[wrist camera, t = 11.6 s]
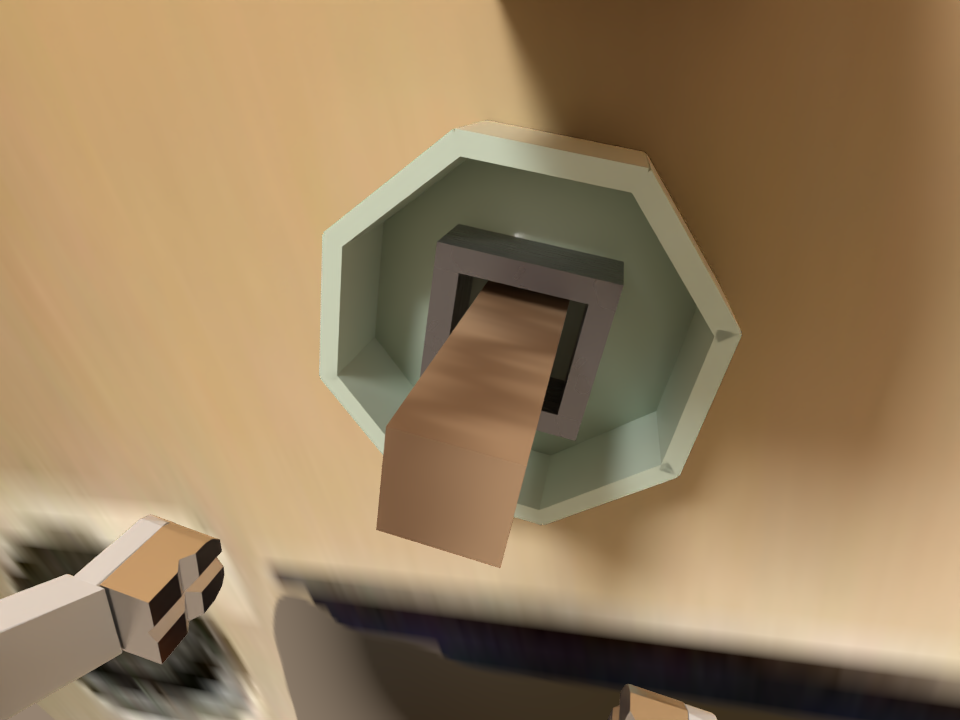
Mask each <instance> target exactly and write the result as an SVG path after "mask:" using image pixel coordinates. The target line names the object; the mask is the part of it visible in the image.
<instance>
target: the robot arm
mask: <svg viewBox="0 0 960 720" xmlns="http://www.w3.org/2000/svg"><path fill="white" fill-rule="evenodd" d="M221 552H222V549H221V543H220V540H219V539H217V538H214V537H211V536H208V535H206V534H203V533H200V532H197V531H195V530H192V529H189V528H186V527H184V526H181V525H178V524H176V523H174V522H171V521H168V520H165V519H163V518H160V517H157V516H154V515H151V514H150V515H148V516H146V517H143V518H141V519H139V520H138V521H137V522H136V523H135V524H134V525H132V526H131V527H130V528H129V529H128V530H127V531H125V532H124V533H123V534H122V535H121V536H120V537H119V538H117V539H116V540H115V541H114V542H113V543H112V544H110V545H109V546H108V547H107V548H106V549H105V550H104V551H102V552H101V553H100V554H99V555H98V556H97V557H96V558H94V559H93V560H92V561H91V562H90V563H89V564H87V565H86V566H85V567H84V568H83V569H82V570H81V571H79V572H78V573H77V574H76V575H75V576H72V575H69V574H66V575H63V576H61V577H58V578H55V579H53V580H50V581H47V582H45V583H42V584H40V585H37V586H34V587H32V588H29V589H26V590H24V591H21V592H19V593H16V594H13V595H11V596H8V597H5V598H3V599H0V720H7V719H9V718H11V717H12V716H14V715H16V714H18V713H19V712H21V711H23V710H25V709H26V708H28V707H30V706H31V705H33V704H35V703H37V702H38V701H40V700H42V699H44V698H45V697H47V696H49V695H50V694H52V693H54V692H56V691H57V690H59V689H61V688H63V687H64V686H66V685H68V684H69V683H71V682H73V681H75V680H76V679H78V678H80V677H82V676H83V675H85V674H87V673H88V672H90V671H92V670H94V669H95V668H97V667H99V666H100V665H102V664H104V663H106V662H107V661H109V660H111V659H113V658H114V657H116V656H118V655H119V654H121V653H122V650H124V651H127V652H129V653H132V654H135V655H138V656H140V657H143V658H146V659H149V660H151V661H154V662H157V663H160V664H163V663H164V662H165V660H166V659H167V658H168V657H169V656H170V654H171V653H172V652H173V651H174V649H175V648H176V647H177V646H178V645H179V643H180V642H181V641H182V640H183V639H184V637H185V636H186V635H187V634H188V627H189V620H191V619H194V618H196V617H198V616H200V615H202V614H204V613H205V612H206V611H207V609H208V608H209V607H210V606H211V604H212V603H213V602H214V600H215V599H216V597H217V595H218V593H219V591H220V589H221V587H222V583H223V578H224V566H223V565H222V564H221V562H220V561H219V560H218V558H217V556H218V555H219V554H220V553H221ZM608 720H717V718H716V716H715V715H714V714H712V713H711V712H707V711H705V710H702V709H699V708H696V707H693V706H690V705H687V704H684V703H683V702H681V701H678V700H675V699H672V698H669V697H666V696H663V695H660V694H657V693H654V692H651V691H648V690H645V689H642V688H639V687H636V686H633V685H630V684H627V685H625V686H624V688H623V689H622V691H621V693H620V706H617V707H614V708H613V709H612V711H611V714H610V716H609V718H608Z"/></svg>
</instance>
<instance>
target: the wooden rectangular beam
mask: <svg viewBox="0 0 960 720" xmlns="http://www.w3.org/2000/svg"><path fill="white" fill-rule="evenodd" d="M569 302H570V300H568V299H564V298H560V297H556V296H552V295H548V294H543V293H539V292H535V291H531V290H527V289H523V288H519V287H514V286H510V285H506V284H502V283H498V282H494V281H490V280H488V281H487V283H486V284H485V286H484V287H483V289H482V290H481V291H480V293H479V294H478V296H477V297H476V299H475V300H474V301H473V303H472V304H471V306H470V307H469V309H468V310H467V311H466V313H465V314H464V316H463V317H462V319H461V320H460V321H459V323H458V324H457V326H456V327H455V329H454V330H453V331H452V333H451V334H450V336H449V337H448V339H447V340H446V341H445V343H444V344H443V346H442V347H441V349H440V350H439V351H438V353H437V354H436V356H435V357H434V359H433V360H432V361H431V363H430V364H429V366H428V367H427V369H426V370H425V371H424V373H423V374H422V376H421V377H420V379H419V380H418V381H417V383H416V384H415V386H414V387H413V389H412V390H411V391H410V393H409V394H408V396H407V397H406V399H405V400H404V401H403V403H402V404H401V406H400V407H399V409H398V410H397V411H396V413H395V414H394V416H393V417H392V419H391V420H390V421H389V423H388V424H387V426H386V431H385V442H384V453H383V464H382V475H381V485H380V496H379V507H378V518H377V529H376V530H379V531H382V532H385V533H389V534H392V535H395V536H398V537H401V538H405V539H408V540H411V541H414V542H418V543H421V544H424V545H427V546H431V547H434V548H437V549H440V550H443V551H447V552H450V553H453V554H456V555H460V556H463V557H466V558H469V559H473V560H476V561H479V562H482V563H485V564H489V565H492V566H495V567H498V568H500V567H501V563H502V560H503V556H504V552H505V548H506V544H507V540H508V537H509V533H510V529H511V525H512V521H513V517H514V513H515V510H516V506H517V502H518V498H519V494H520V490H521V487H522V483H523V479H524V475H525V471H526V467H527V464H528V460H529V456H530V452H531V448H532V444H533V440H534V437H535V433H536V429H537V425H538V421H539V417H540V414H541V410H542V406H543V402H544V398H545V394H546V390H547V387H548V383H549V379H550V375H551V371H552V367H553V364H554V360H555V356H556V352H557V348H558V344H559V340H560V336H561V333H562V329H563V325H564V321H565V317H566V313H567V309H568V305H569Z"/></svg>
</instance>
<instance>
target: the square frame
mask: <svg viewBox="0 0 960 720" xmlns="http://www.w3.org/2000/svg"><path fill="white" fill-rule="evenodd" d="M473 277H477V278H481V279H485V280H490V281H494V282H498V283H502V284H506V285H510V286H514V287H519V288H523V289H527V290H531V291H535V292H539V293H543V294H548V295H552V296H556V297H560V298H564V299H568V300H572V301H577V302H581V303H585V304H586V306H585V310H584V313H583V317H582V320H581V324H580V328H579V331H578V335H577V338H576V342H575V346H574V349H573V353H572V356H571V360H570V364H569V367H568V371H567V374H566V378H565V381H564V380H560V379H556V378H553V377H550V379H549V383H548V387H547V390H546V394H545V398H544V402H543V406H542V410H541V414H540V417H539V421H538V425H537V429H536V430H537V431H541V432H545V433H548V434H552V435H556V436H559V437H563V438H566V439H570V440H574V441H576V438H577V435H578V431H579V428H580V425H581V422H582V418H583V415H584V412H585V409H586V405H587V402H588V399H589V396H590V393H591V389H592V386H593V383H594V380H595V376H596V373H597V370H598V367H599V363H600V360H601V357H602V354H603V351H604V347H605V344H606V341H607V338H608V334H609V331H610V328H611V325H612V321H613V318H614V315H615V312H616V309H617V305H618V302H619V299H620V296H621V292H622V289H623V286H624V262H623V261H619V260H615V259H610V258H606V257H602V256H597V255H593V254H588V253H584V252H580V251H575V250H571V249H567V248H562V247H558V246H554V245H549V244H545V243H540V242H536V241H532V240H527V239H523V238H519V237H514V236H510V235H506V234H501V233H497V232H492V231H488V230H484V229H479V228H475V227H471V226H466V225H462V224H458V225H456V226H455V227H454V228H453V229H452V230H450V231H449V232H448V233H447V234H446V235H444V236H443V237H442V238H441V239H440V240H438V241H437V246H436V254H435V262H434V270H433V277H432V285H431V293H430V301H429V309H428V317H427V325H426V333H425V340H424V348H423V356H422V364H421V372H420V377H421V376H422V374H423V373H424V371H425V370H426V369H427V367H428V366H429V364H430V363H431V361H432V360H433V359H434V357H435V356H436V354H437V353H438V351H439V350H440V349H441V347H442V346H443V344H444V343H445V341H446V340H447V339H448V337H449V336H450V334H451V333H452V331H453V330H454V329H455V327H456V326H457V324H458V323H459V321H460V320H461V319H462V317H463V316H464V314H465V313H466V311H467V310H468V307H469V301H470V294H471V288H472V282H473Z"/></svg>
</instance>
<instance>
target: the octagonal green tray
mask: <svg viewBox="0 0 960 720" xmlns="http://www.w3.org/2000/svg"><path fill="white" fill-rule="evenodd" d="M458 224H462V225H466V226H471V227H475V228H479V229H484V230H488V231H492V232H497V233H501V234H506V235H510V236H514V237H519V238H523V239H527V240H532V241H536V242H540V243H545V244H549V245H554V246H558V247H562V248H567V249H571V250H575V251H580V252H584V253H588V254H593V255H597V256H602V257H606V258H610V259H615V260H619V261H623V262H624V286H623V289H622V292H621V296H620V299H619V302H618V305H617V309H616V312H615V315H614V318H613V321H612V325H611V328H610V331H609V334H608V338H607V341H606V344H605V347H604V351H603V354H602V357H601V360H600V363H599V367H598V370H597V373H596V376H595V380H594V383H593V386H592V389H591V393H590V396H589V399H588V402H587V405H586V409H585V412H584V415H583V418H582V422H581V425H580V428H579V431H578V435H577V438H576V441H574V440H570V439H566V438H563V437H559V436H556V435H552V434H548V433H545V432H541V431H537V430H536V433H535V437H534V440H533V444H532V448H531V452H530V456H529V460H528V464H527V467H526V471H525V475H524V479H523V483H522V487H521V490H520V494H519V498H518V502H517V506H516V510H515V513H514V517H516V518H519V519H522V520H526V521H529V522H532V523H536V524H539V525H542V524H543V525H546V524H549V523H552V522H554V521H557V520H560V519H563V518H566V517H568V516H571V515H574V514H577V513H580V512H582V511H585V510H588V509H591V508H594V507H596V506H599V505H602V504H605V503H608V502H610V501H613V500H616V499H619V498H622V497H624V496H627V495H630V494H633V493H636V492H638V491H641V490H644V489H647V488H650V487H652V486H655V485H658V484H661V483H664V482H666V481H669V480H672V479H675V478H678V476H680V474H681V472H682V469H683V467H684V465H685V463H686V460H687V458H688V456H689V454H690V451H691V449H692V447H693V445H694V442H695V440H696V438H697V436H698V433H699V431H700V429H701V426H702V424H703V422H704V420H705V417H706V415H707V413H708V411H709V408H710V406H711V404H712V402H713V399H714V397H715V395H716V393H717V390H718V388H719V386H720V384H721V381H722V379H723V377H724V375H725V372H726V370H727V368H728V366H729V363H730V361H731V359H732V356H733V354H734V352H735V350H736V347H737V345H738V343H739V341H740V338H741V336H742V334H741V333H742V332H741V330H740V327H739V325H738V323H737V321H736V319H735V317H734V314H733V312H732V310H731V308H730V306H729V304H728V301H727V299H726V297H725V295H724V293H723V291H722V289H721V287H720V285H719V283H718V281H717V279H716V278H715V276H714V274H713V272H712V270H711V269H710V267H709V265H708V263H707V261H706V260H705V258H704V256H703V254H702V252H701V251H700V249H699V247H698V245H697V243H696V242H695V240H694V238H693V236H692V234H691V233H690V231H689V229H688V227H687V225H686V224H685V222H684V220H683V218H682V216H681V214H680V213H679V211H678V209H677V207H676V205H675V204H674V202H673V200H672V198H671V196H670V195H669V193H668V191H667V189H666V187H665V186H664V184H663V182H662V180H661V178H660V177H659V175H658V173H657V171H656V169H655V168H654V166H653V164H652V162H651V160H650V159H649V157H648V155H647V153H646V154H645V152H643V151H638V150H633V149H628V148H623V147H618V146H613V145H608V144H603V143H598V142H593V141H588V140H584V139H579V138H574V137H569V136H564V135H559V134H554V133H549V132H544V131H539V130H534V129H529V128H524V127H519V126H514V125H509V124H504V123H499V122H494V121H489V120H485V121H482V122H478V123H474V124H470V125H466V126H463V127H459V128H455V129H452V130H451V131H450V132H448V133H447V134H446V135H445V136H443V137H442V138H441V139H440V140H438V141H437V142H436V143H435V144H433V145H432V146H431V147H430V148H428V149H427V150H426V151H425V152H423V153H422V154H421V155H420V156H418V157H417V158H416V159H415V160H413V161H412V162H411V163H410V164H408V165H407V166H406V167H405V168H403V169H402V170H401V171H400V172H398V173H397V174H396V175H395V176H393V177H392V178H391V179H390V180H388V181H387V182H386V183H385V184H383V185H382V186H381V187H380V188H378V189H377V190H376V191H375V192H373V193H372V194H371V195H370V196H368V197H367V198H366V199H365V200H363V201H362V202H361V203H360V204H358V205H357V206H356V207H355V208H353V209H352V210H351V211H350V212H348V213H347V214H346V215H344V216H343V217H342V218H341V219H339V220H338V221H337V222H336V223H334V224H333V225H332V226H331V227H329V228H328V229H327V230H326V231H324V232H323V233H324V234H322V277H321V322H320V367H319V376H320V377H321V378H320V379H321V380H322V381H323V382H324V384H325V385H326V386H327V387H328V388H329V390H330V391H331V392H332V393H333V395H334V396H335V397H336V398H337V399H338V401H339V402H340V403H341V404H342V406H343V407H344V408H345V409H346V410H347V412H348V413H349V414H350V415H351V417H352V418H353V419H354V420H355V421H356V423H357V424H358V425H359V426H360V428H361V429H362V430H363V431H364V432H365V434H366V435H367V436H368V437H369V439H370V440H371V441H372V442H373V443H374V445H375V446H376V447H377V448H378V450H379V451H380V452H381V453H382V454H383V453H384V442H385V431H386V426H387V424H388V423H389V421H390V420H391V419H392V417H393V416H394V414H395V413H396V411H397V410H398V409H399V407H400V406H401V404H402V403H403V401H404V400H405V399H406V397H407V396H408V394H409V393H410V391H411V390H412V389H413V387H414V386H415V384H416V383H417V381H418V380H419V379H420V372H421V364H422V356H423V348H424V340H425V333H426V325H427V317H428V309H429V301H430V293H431V285H432V277H433V270H434V262H435V254H436V246H437V241H438V240H440V239H441V238H442V237H443V236H444V235H446V234H447V233H448V232H449V231H450V230H452V229H453V228H454V227H455V226H456V225H458ZM487 281H488V280H485V279H481V278H477V277H473V282H472V288H471V294H470V301H469V307H470V306H471V304H472V303H473V301H474V300H475V299H476V297H477V296H478V294H479V293H480V291H481V290H482V289H483V287H484V286H485V284H486V283H487ZM585 306H586V304H585V303H581V302H577V301H572V300H570V302H569V305H568V309H567V313H566V317H565V321H564V325H563V329H562V333H561V336H560V340H559V344H558V348H557V352H556V356H555V360H554V364H553V367H552V371H551V375H550V377H553V378H556V379H560V380H564V381H565V378H566V374H567V371H568V367H569V364H570V360H571V356H572V353H573V349H574V346H575V342H576V338H577V335H578V331H579V328H580V324H581V320H582V317H583V313H584V310H585ZM469 307H468V309H469Z"/></svg>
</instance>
